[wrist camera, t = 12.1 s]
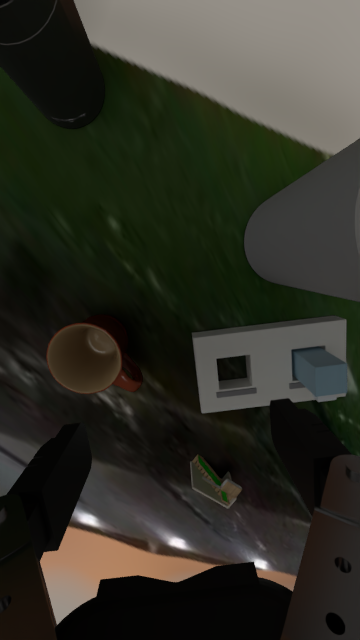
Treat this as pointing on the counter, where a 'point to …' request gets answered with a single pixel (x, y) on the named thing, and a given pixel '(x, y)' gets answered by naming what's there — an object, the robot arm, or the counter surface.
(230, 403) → the port panel
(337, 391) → the plug
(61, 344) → the mug
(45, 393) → the counter surface
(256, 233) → the cylinder vase
